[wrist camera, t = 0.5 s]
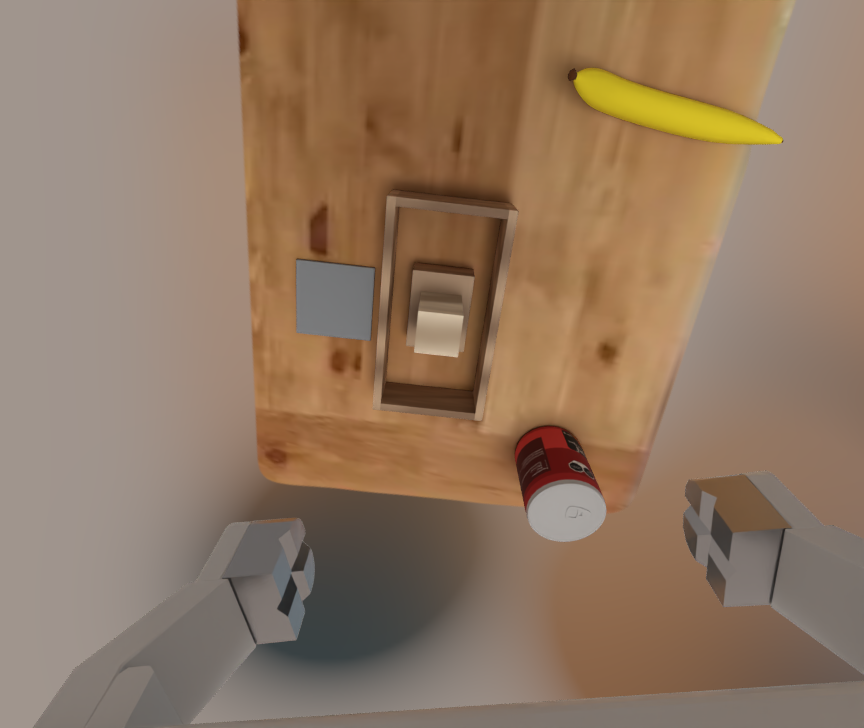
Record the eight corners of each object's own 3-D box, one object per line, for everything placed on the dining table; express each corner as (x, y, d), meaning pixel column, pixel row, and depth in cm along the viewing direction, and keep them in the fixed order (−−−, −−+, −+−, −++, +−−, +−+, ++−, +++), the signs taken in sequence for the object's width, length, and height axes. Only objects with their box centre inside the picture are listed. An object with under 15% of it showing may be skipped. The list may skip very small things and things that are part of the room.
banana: (742, 157, 46) (784, 161, 41) (547, 99, 45) (562, 94, 39) (758, 123, 45) (804, 122, 40) (558, 63, 44) (576, 52, 38)
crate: (392, 189, 48) (386, 195, 44) (511, 203, 49) (518, 211, 44) (378, 387, 57) (372, 409, 53) (478, 398, 58) (481, 420, 53)
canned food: (582, 472, 62) (608, 537, 52) (517, 480, 63) (531, 547, 53) (578, 419, 59) (605, 478, 49) (510, 429, 59) (522, 489, 49)
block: (421, 291, 49) (418, 310, 44) (461, 295, 50) (463, 315, 44) (417, 328, 51) (414, 352, 46) (456, 333, 51) (457, 357, 46)
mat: (297, 258, 51) (296, 259, 51) (375, 267, 52) (374, 268, 51) (297, 331, 55) (296, 332, 54) (370, 339, 55) (370, 340, 55)
